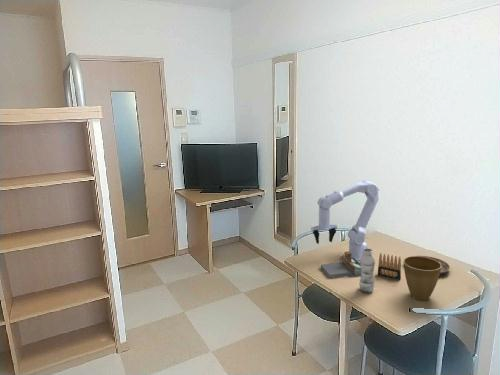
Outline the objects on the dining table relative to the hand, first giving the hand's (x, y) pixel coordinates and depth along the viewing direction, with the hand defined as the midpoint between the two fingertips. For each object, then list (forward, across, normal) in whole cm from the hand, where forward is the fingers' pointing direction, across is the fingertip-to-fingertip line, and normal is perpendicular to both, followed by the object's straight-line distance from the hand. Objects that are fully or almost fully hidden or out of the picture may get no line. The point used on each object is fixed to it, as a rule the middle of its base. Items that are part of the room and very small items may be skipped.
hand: (324, 242), depth 191 cm
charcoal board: (+10, +1, -15) cm, 18 cm away
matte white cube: (+9, +9, -12) cm, 17 cm away
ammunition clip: (+11, +23, -27) cm, 37 cm away
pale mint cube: (+9, +9, -18) cm, 23 cm away
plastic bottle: (+11, +6, -36) cm, 38 cm away
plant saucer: (+11, +46, -24) cm, 53 cm away
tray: (+10, +10, -15) cm, 21 cm away
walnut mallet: (+8, +7, -15) cm, 18 cm away
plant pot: (+11, +26, -46) cm, 54 cm away
